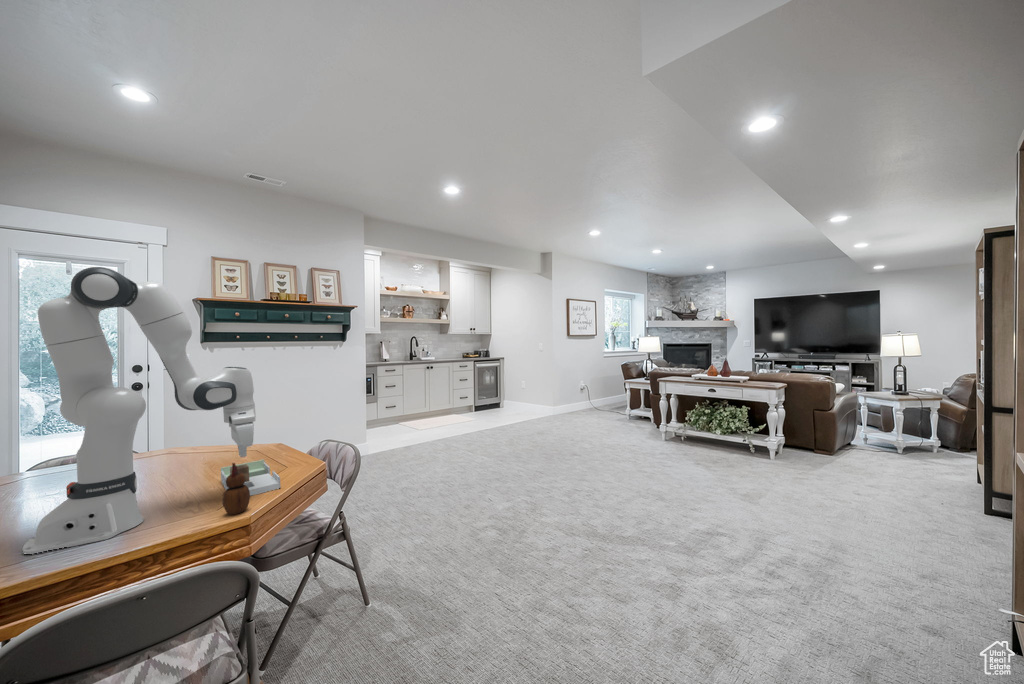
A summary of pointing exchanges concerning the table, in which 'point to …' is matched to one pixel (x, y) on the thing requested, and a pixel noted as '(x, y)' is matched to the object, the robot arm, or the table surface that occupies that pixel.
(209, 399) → the robot arm
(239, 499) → the wooden figurine
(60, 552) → the table surface
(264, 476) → the box
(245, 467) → the walnut block
